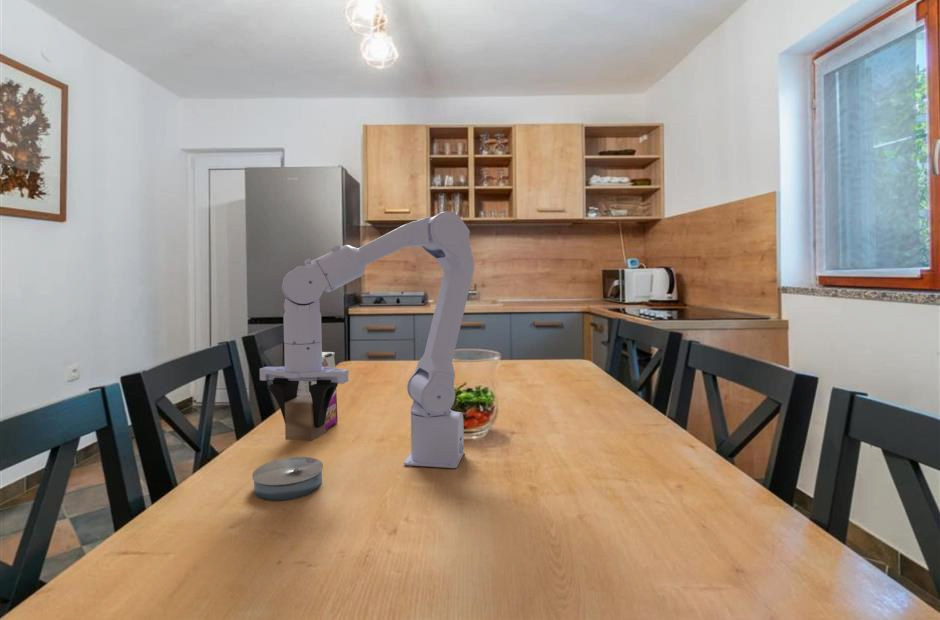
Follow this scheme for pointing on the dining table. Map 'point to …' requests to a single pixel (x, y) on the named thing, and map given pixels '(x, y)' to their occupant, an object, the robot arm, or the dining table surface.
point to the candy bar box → (303, 386)
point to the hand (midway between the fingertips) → (304, 425)
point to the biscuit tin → (287, 478)
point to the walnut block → (301, 420)
